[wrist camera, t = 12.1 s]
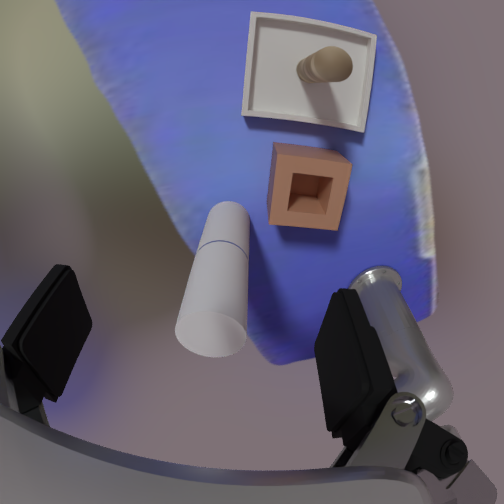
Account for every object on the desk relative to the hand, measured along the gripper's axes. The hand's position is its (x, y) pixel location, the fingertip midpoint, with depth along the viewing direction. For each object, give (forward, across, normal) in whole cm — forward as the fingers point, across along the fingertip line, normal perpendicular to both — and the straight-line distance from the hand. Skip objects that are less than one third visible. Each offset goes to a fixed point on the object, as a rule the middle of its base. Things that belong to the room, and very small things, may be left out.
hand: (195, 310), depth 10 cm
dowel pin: (+35, -9, -11) cm, 38 cm away
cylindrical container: (+36, +1, +15) cm, 39 cm away
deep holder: (+36, -10, +6) cm, 38 cm away
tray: (+36, -9, -11) cm, 39 cm away
